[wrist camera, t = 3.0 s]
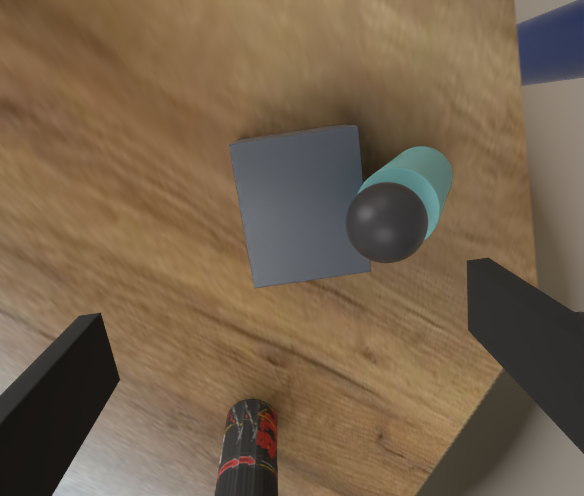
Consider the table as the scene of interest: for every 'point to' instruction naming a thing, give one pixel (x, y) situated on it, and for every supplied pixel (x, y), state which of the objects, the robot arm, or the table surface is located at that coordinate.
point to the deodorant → (249, 451)
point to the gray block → (299, 203)
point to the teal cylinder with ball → (399, 205)
